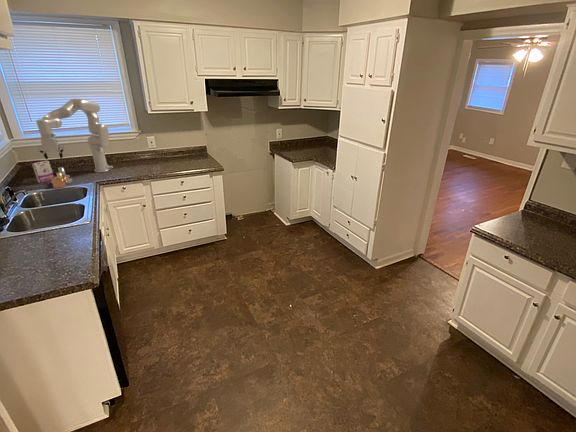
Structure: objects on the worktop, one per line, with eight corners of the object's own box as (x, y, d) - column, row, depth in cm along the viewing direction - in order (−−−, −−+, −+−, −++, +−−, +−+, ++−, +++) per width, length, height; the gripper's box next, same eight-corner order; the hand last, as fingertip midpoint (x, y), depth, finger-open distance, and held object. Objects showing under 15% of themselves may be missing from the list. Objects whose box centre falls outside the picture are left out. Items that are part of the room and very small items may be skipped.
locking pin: (65, 184, 254) (61, 172, 250) (64, 185, 251) (60, 173, 247) (60, 184, 253) (56, 172, 249) (59, 185, 250) (55, 173, 246)
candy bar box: (52, 179, 264) (46, 160, 257) (55, 180, 262) (49, 161, 255) (37, 182, 256) (31, 163, 249) (40, 183, 253) (34, 164, 246)
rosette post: (73, 179, 264) (69, 165, 259) (67, 187, 248) (62, 172, 243) (59, 180, 261) (55, 166, 256) (52, 188, 245) (47, 173, 240)
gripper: (62, 134, 241) (68, 156, 249) (35, 135, 236) (42, 157, 243) (59, 136, 235) (65, 158, 243) (31, 137, 230) (39, 160, 237)
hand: (54, 158), depth 243 cm, fingers open, 9 cm apart
